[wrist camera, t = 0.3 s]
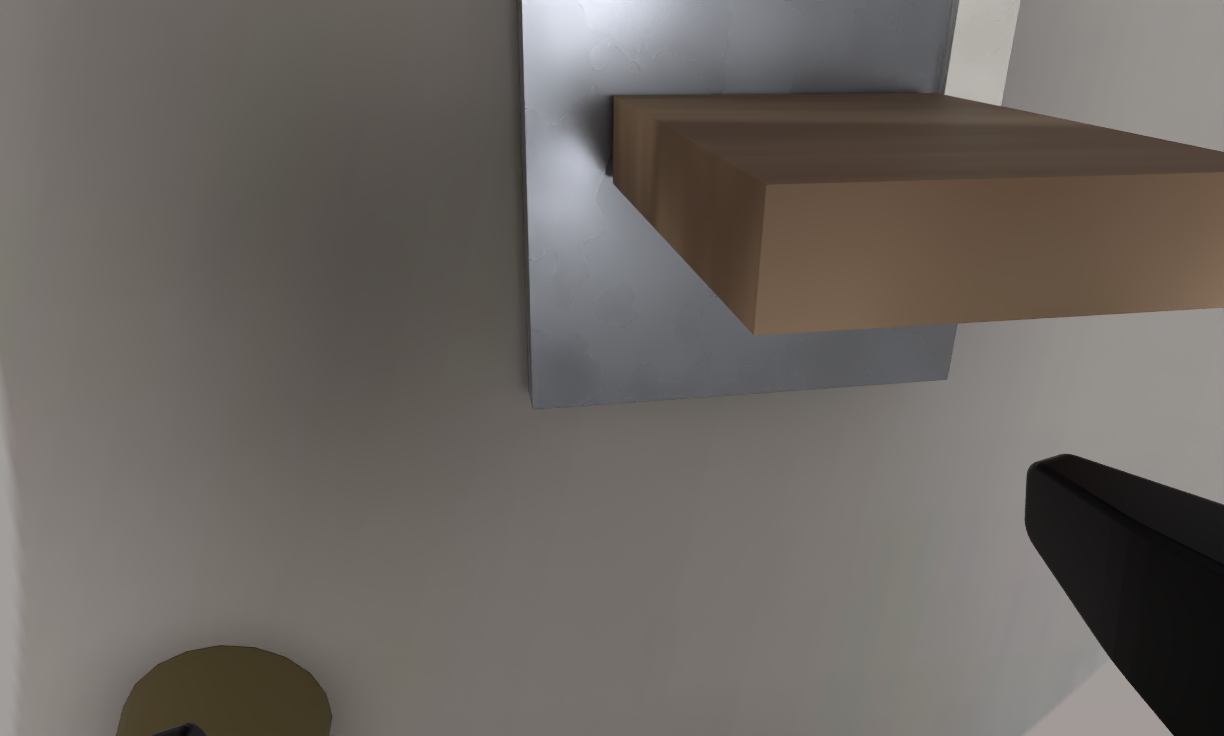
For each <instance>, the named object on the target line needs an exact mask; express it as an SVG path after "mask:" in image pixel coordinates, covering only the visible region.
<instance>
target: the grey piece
mask: <svg viewBox="0 0 1224 736" xmlns="http://www.w3.org/2000/svg"><path fill="white" fill-rule="evenodd" d="M1019 6H1020V0H517V14H518V48H519V83H520V117H521V152H522V186H523V221H524V255H525V290H526V324H527V359H528V391H529V395H530V399H531V403H532V407H533V409H544V408H558V407H572V406H586V405H600V404H614V403H628V402H642V401H655V400H669V399H683V398H697V397H711V396H725V395H739V394H753V393H767V392H781V391H795V390H808V389H822V388H836V387H850V386H864V385H878V384H892V383H906V382H920V381H934V380H947V377H948V372H949V366H950V361H951V355H952V350H953V345H954V339H955V334H956V328H957V323H955V324H938V325H921V326H904V327H888V328H871V329H854V330H837V331H820V332H804V333H787V334H770V335H753V334H752V333H751V332H750V331H749V330H748V329H747V328H746V327H745V325H744V324H743V323H742V322H741V321H740V320H739V319H738V318H737V317H736V316H735V315H734V314H733V312H732V311H731V310H730V309H729V308H728V307H727V306H726V305H725V304H724V303H723V302H722V301H721V300H720V298H719V297H718V296H717V295H716V294H715V293H714V292H713V291H712V290H711V289H710V288H709V287H708V286H707V284H706V283H705V282H704V281H703V280H702V279H701V278H700V277H699V276H698V275H697V274H696V273H695V272H694V270H693V269H692V268H691V267H690V266H689V265H688V264H687V263H686V262H685V261H684V260H683V259H682V258H681V256H680V255H679V254H678V253H677V252H676V251H675V250H674V249H673V248H672V247H671V246H670V245H669V243H668V242H667V241H666V240H665V239H664V238H663V237H662V236H661V235H660V234H659V233H658V232H657V231H656V229H655V228H654V227H653V226H652V225H651V224H650V223H649V222H648V221H647V220H646V219H645V218H644V217H643V215H642V214H641V213H640V212H639V211H638V210H637V209H636V208H635V207H634V206H633V205H632V204H631V203H630V201H629V200H628V199H627V198H626V197H625V196H624V195H623V194H622V193H621V192H620V191H619V190H618V188H617V187H616V186H615V185H614V184H613V128H614V95H732V94H857V93H939V94H944V95H949V96H953V97H958V98H963V99H968V100H973V101H978V102H983V103H987V104H992V105H997V106H1001V103H1002V98H1003V92H1004V87H1005V81H1006V76H1007V71H1008V65H1009V60H1010V54H1011V49H1012V44H1013V38H1014V33H1015V27H1016V22H1017V17H1018V11H1019Z"/></svg>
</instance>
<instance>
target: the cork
mask: <svg viewBox="0 0 1224 736" xmlns="http://www.w3.org/2000/svg"><path fill="white" fill-rule="evenodd" d="M331 720H332V714H331V711H330V707H329V703H328V700H327V696H326V693H325V692H324V691H323V689H322V688H321V687H320V686H319V684H318V683H317V682H316V680H315V679H314V678H313V677H312V675H311V674H310V673H309V672H307V671H306V670H304V669H302V668H301V667H299V666H298V665H296V664H295V663H293V662H292V661H290V660H289V659H287V658H286V657H282V656H279V655H276V654H273V653H270V652H266V651H263V650H260V649H257V648H249V647H232V646H217V647H211V648H205V649H200V650H194V651H188V652H185V653H183V654H181V655H178V656H176V657H174V658H172V659H170V660H167V661H165V662H163V663H161V664H159V665H157V666H156V667H155V668H153V669H152V670H151V671H150V672H149V673H148V674H147V675H145V676H144V677H143V678H142V679H141V680H140V681H139V682H137V683H136V684H135V686H134V688H133V689H132V691H131V693H130V695H129V697H128V699H127V701H126V703H125V705H124V707H123V709H122V713H121V718H120V722H119V726H118V730H117V734H116V736H150V735H152V734H154V733H156V732H158V731H161V730H164V729H167V728H171V727H174V726H177V725H180V724H184V723H191V722H193V723H196V724H197V725H199V726H200V727H201V728H202V729H203V730H204V732H205V733H206V735H207V736H329V732H330V726H331Z"/></svg>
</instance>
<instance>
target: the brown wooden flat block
mask: <svg viewBox="0 0 1224 736" xmlns="http://www.w3.org/2000/svg"><path fill="white" fill-rule="evenodd" d="M613 184H614V185H615V186H616V187H617V188H618V190H619V191H620V192H621V193H622V194H623V195H624V196H625V197H626V198H627V199H628V200H629V201H630V203H631V204H632V205H633V206H634V207H635V208H636V209H637V210H638V211H639V212H640V213H641V214H642V215H643V217H644V218H645V219H646V220H647V221H648V222H649V223H650V224H651V225H652V226H653V227H654V228H655V229H656V231H657V232H658V233H659V234H660V235H661V236H662V237H663V238H664V239H665V240H666V241H667V242H668V243H669V245H670V246H671V247H672V248H673V249H674V250H675V251H676V252H677V253H678V254H679V255H680V256H681V258H682V259H683V260H684V261H685V262H686V263H687V264H688V265H689V266H690V267H691V268H692V269H693V270H694V272H695V273H696V274H697V275H698V276H699V277H700V278H701V279H702V280H703V281H704V282H705V283H706V284H707V286H708V287H709V288H710V289H711V290H712V291H713V292H714V293H715V294H716V295H717V296H718V297H719V298H720V300H721V301H722V302H723V303H724V304H725V305H726V306H727V307H728V308H729V309H730V310H731V311H732V312H733V314H734V315H735V316H736V317H737V318H738V319H739V320H740V321H741V322H742V323H743V324H744V325H745V327H746V328H747V329H748V330H749V331H750V332H751V333H752V334H753V335H770V334H787V333H804V332H820V331H837V330H854V329H871V328H888V327H904V326H921V325H938V324H955V323H972V322H988V321H1005V320H1022V319H1039V318H1056V317H1072V316H1089V315H1106V314H1123V313H1140V312H1156V311H1173V310H1190V309H1207V308H1224V152H1221V151H1216V150H1211V149H1206V148H1201V147H1196V146H1192V145H1187V144H1182V143H1177V142H1172V141H1167V140H1162V139H1158V138H1153V137H1148V136H1143V135H1138V134H1133V133H1128V132H1124V131H1119V130H1114V129H1109V128H1104V127H1099V126H1094V125H1090V124H1085V123H1080V122H1075V121H1070V120H1065V119H1060V118H1056V117H1051V116H1046V115H1041V114H1036V113H1031V112H1026V111H1021V110H1017V109H1012V108H1007V107H1002V106H997V105H992V104H987V103H983V102H978V101H973V100H968V99H963V98H958V97H953V96H949V95H944V94H939V93H857V94H732V95H614V128H613Z"/></svg>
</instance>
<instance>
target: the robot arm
mask: <svg viewBox="0 0 1224 736" xmlns="http://www.w3.org/2000/svg"><path fill="white" fill-rule="evenodd" d="M1025 526H1026V530H1027V533H1028V536H1029V538H1030V540H1031V542H1032V544H1033V545H1034V547H1035V548H1036V550H1037V551H1038V553H1039V554H1040V556H1041V557H1042V559H1043V560H1044V562H1045V563H1046V565H1047V566H1048V568H1049V569H1050V571H1051V572H1052V574H1053V575H1054V577H1055V578H1056V579H1057V581H1058V582H1059V584H1060V585H1061V587H1062V588H1063V590H1064V591H1065V593H1066V594H1067V596H1068V597H1069V599H1070V600H1071V602H1072V603H1073V605H1074V606H1075V608H1076V609H1077V611H1078V612H1079V614H1080V615H1081V617H1082V618H1083V620H1084V621H1085V623H1086V624H1087V626H1088V627H1089V628H1090V630H1091V631H1092V633H1093V634H1094V636H1095V637H1096V639H1097V640H1098V642H1099V643H1100V645H1101V646H1102V647H1103V649H1104V650H1105V652H1106V653H1107V654H1108V656H1109V657H1110V659H1111V660H1112V661H1113V662H1114V664H1115V665H1116V666H1117V668H1118V669H1119V670H1120V671H1121V673H1122V674H1123V675H1124V676H1125V678H1126V679H1127V680H1128V681H1129V682H1130V684H1131V685H1132V686H1133V687H1134V689H1135V690H1136V691H1137V692H1138V693H1139V694H1140V696H1141V697H1142V698H1143V699H1144V701H1145V702H1146V703H1147V704H1148V705H1149V707H1150V708H1151V709H1152V710H1153V711H1154V713H1155V714H1156V715H1157V716H1158V717H1159V719H1160V720H1161V721H1162V722H1163V723H1164V725H1165V726H1166V727H1167V728H1168V729H1169V731H1170V732H1171V733H1172V734H1173V735H1174V736H1224V505H1223V504H1220V503H1217V502H1214V501H1211V500H1208V499H1205V498H1202V497H1199V496H1196V495H1193V494H1190V493H1187V492H1184V491H1181V490H1178V489H1175V488H1172V487H1169V486H1166V485H1163V484H1160V483H1157V482H1154V481H1151V480H1148V479H1145V478H1142V477H1139V476H1136V475H1133V474H1130V473H1127V472H1124V471H1121V470H1118V469H1115V468H1112V467H1109V466H1106V465H1103V464H1100V463H1097V462H1094V461H1091V460H1088V459H1085V458H1082V457H1079V456H1075V455H1071V454H1060V455H1057V456H1054V457H1050V458H1047V459H1044V460H1041V461H1037V462H1035V463H1033V464H1032V465H1031V466H1030V467H1029V469H1028V471H1027V479H1026V501H1025ZM150 736H207V735H206V733H205V732H204V730H203V729H202V728H201V727H200V726H199V725H197V724H196V723H193V722H191V723H184V724H180V725H177V726H174V727H171V728H167V729H164V730H161V731H158V732H156V733H154V734H152V735H150Z"/></svg>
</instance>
